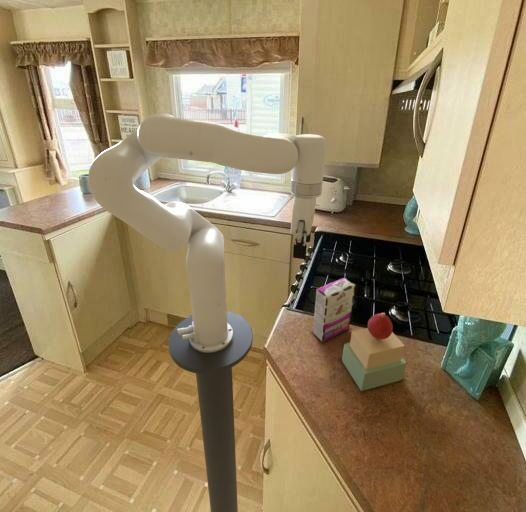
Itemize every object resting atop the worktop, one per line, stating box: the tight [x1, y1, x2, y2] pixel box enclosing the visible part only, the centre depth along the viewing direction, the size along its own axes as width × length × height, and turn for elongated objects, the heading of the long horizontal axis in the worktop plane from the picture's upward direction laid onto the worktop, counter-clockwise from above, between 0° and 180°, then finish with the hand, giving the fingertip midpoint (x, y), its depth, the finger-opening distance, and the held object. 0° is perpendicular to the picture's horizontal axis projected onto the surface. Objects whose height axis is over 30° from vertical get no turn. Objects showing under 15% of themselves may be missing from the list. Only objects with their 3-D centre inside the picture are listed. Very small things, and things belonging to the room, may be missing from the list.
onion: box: [367, 312, 394, 339], centre depth 77 cm, size 6×6×8 cm
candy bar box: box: [312, 277, 356, 343], centre depth 92 cm, size 11×5×16 cm, turn 123°
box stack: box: [341, 327, 408, 392], centre depth 81 cm, size 12×10×11 cm
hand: (301, 249), depth 84 cm, fingers open, 9 cm apart
